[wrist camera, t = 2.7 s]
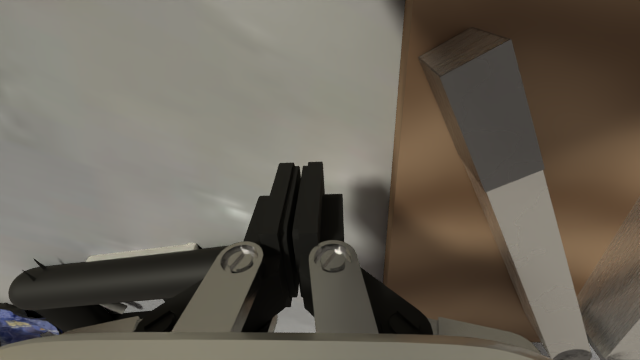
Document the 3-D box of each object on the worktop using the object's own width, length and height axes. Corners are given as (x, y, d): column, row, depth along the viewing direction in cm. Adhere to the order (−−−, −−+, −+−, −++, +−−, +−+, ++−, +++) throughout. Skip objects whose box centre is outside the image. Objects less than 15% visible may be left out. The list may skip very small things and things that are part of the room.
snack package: (-9, 345, 31) (109, 380, 33) (-87, 416, 25) (62, 453, 27) (3, 259, 26) (136, 306, 29) (-88, 319, 21) (89, 372, 23)
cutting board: (578, 323, 23) (592, 343, 22) (379, 321, 24) (382, 339, 23) (887, -132, 10) (969, -150, 8) (412, -91, 11) (422, -101, 10)
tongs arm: (562, 314, 20) (595, 363, 18) (528, 322, 21) (555, 371, 18) (471, 26, 11) (511, 38, 9) (417, 57, 12) (439, 77, 9)
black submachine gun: (321, 378, 26) (264, 256, 17) (116, 386, 29) (-29, 286, 20) (323, 339, 29) (274, 214, 19) (134, 350, 32) (14, 247, 22)
